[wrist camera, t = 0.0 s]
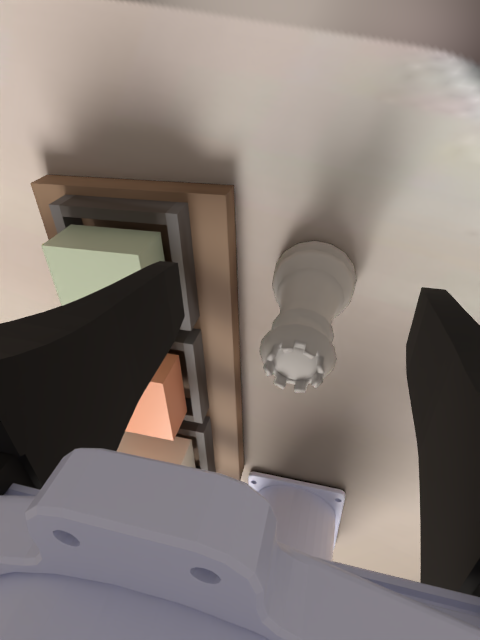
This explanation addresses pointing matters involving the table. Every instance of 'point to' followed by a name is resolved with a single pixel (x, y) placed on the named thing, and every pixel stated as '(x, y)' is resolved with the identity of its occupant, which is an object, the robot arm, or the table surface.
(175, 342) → the button board
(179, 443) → the cream button
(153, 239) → the sage button
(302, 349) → the rook chess piece
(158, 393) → the terracotta button
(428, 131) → the table surface
